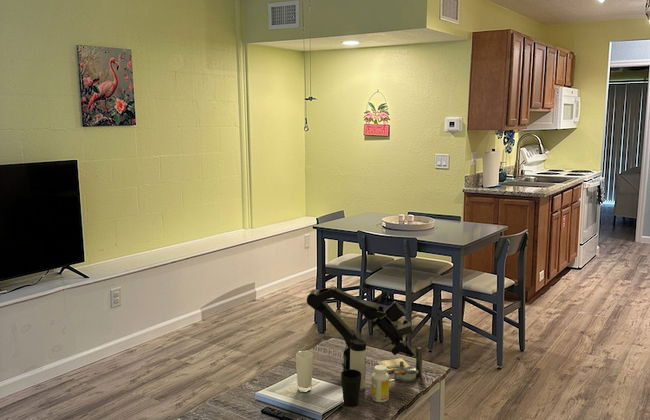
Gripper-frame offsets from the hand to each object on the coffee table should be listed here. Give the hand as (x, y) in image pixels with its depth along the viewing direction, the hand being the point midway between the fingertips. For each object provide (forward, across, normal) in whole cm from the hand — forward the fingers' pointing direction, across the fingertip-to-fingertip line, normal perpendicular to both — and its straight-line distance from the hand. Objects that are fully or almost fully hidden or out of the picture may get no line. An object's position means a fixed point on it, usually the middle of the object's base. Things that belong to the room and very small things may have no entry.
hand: (413, 355), depth 250 cm
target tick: (0, -10, +11) cm, 15 cm away
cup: (-10, -32, +21) cm, 39 cm away
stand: (-1, +3, +11) cm, 12 cm away
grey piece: (+4, -5, +6) cm, 9 cm away
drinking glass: (-23, -25, +35) cm, 49 cm away
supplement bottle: (-2, -26, +13) cm, 29 cm away
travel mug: (-9, -19, +20) cm, 29 cm away
